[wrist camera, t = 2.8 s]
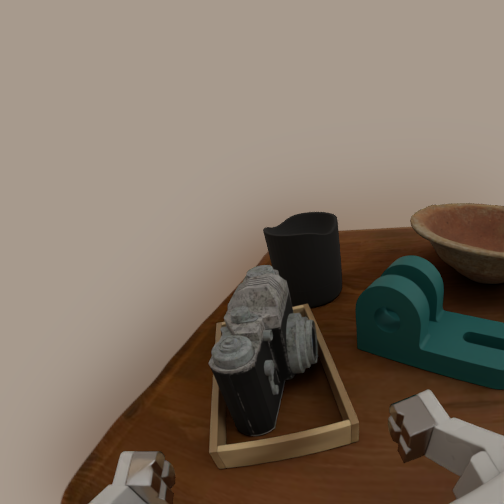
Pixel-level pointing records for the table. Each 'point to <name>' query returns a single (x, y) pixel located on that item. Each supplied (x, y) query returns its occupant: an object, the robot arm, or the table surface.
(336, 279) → the pen holder
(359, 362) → the table surface
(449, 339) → the bracket
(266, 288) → the camera
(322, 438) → the rectangular wooden frame
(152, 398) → the table surface
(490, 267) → the bowl
